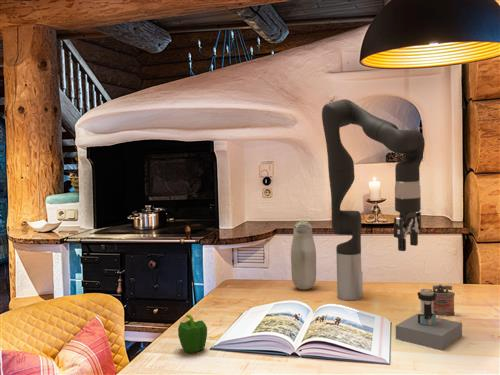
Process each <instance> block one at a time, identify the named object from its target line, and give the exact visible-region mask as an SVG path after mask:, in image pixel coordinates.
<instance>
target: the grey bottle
mask: <svg viewBox="0 0 500 375" xmlns="http://www.w3.org/2000/svg"><path fill="white" fill-rule="evenodd" d="M290 267H291V268H290V269H291V270H290V271H291V280H292V283H293V285H294V286H295V287H296V288H297V289H299V290H303V291H304V290H310V289H311V288H312V287H314V286H315V284H316V281H317V250H316V244H315V240H314V234H313V227H312V225H311V223H310V222H309V221H306V220H301V221H300V220H299V221H297V222H296V223H295V224H294V226H293V234H292V241H291V248H290Z"/></svg>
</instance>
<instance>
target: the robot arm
mask: <svg viewBox="0 0 500 375" xmlns="http://www.w3.org/2000/svg"><path fill="white" fill-rule="evenodd" d="M321 121H322V126H323V131H324V132H323V133H324V138H325V144H326V151H327V152H326V153H327V155H326V156H327V167H328V179H329V187H330V188H329V189H330V198H331V199H330V200H331V203H330V205H331V208H330V209H331V228H332V231H333V233H334V234H335V235H339V236H351V238H350V239H349V240H347V241H345V242H341V243H339V244H337V245H336V248H335V249H336V250H335V251H336V254H335V255H336V295H337V298H338V299H340V300H344V301H358V300H361V299H362V298H363V294H364V291H363V288H364V287H363V271H362V215H361V212H360V211H359V210H342V209H341V205H342V203H343V200H344V198H345V196H346V195H347V194H348V192H349V190H350V189H351V188H352V185H353V183H354V181H355V164H354V159H353V157H352V155H351V154H350V153H349V151H348V150H347V149H346V148H345V146H344V144H343V142H342V139H341V134H340V133H341V132H340V128H342V127H346V126H347V127H348V125H356V126H359V127H361V129H362V131H363V133H364V134H365V136H367V138H370V139H371V140H374V141H375V142H377V143H380V144H382V145H384V146H385V147H386V149H388V150H390V151H391V152H392V153H395V154H399V155H404V156H403V159H402V160H401V161H399V162H397V163H396V164H395V174H394V175H395V184H394V210H395V212H396V213H399V216H398V217H393V238H396V239H397V250H398V251H399V252H406V250H407V239H406V237H407V234H410V235H409V239H410V240H409V243H410V246H415V247H416V246H418V244H419V240H418V239H419V235H418V234H420V231H421V230H422V213H421V210H422V208H421V207H422V205H421V202H422V201H421V199H422V198H421V197H422V196H421V195H422V194H421V191H422V190H421V185H420V184H421V182H420V179H421V178H420V177H421V176H420V166H421V163H422V160H423V155H424V153H425V152H424V151H425V146H426V144H425V137H424V135H423V133H422V132H421V131H420V130H418V129H405V130H404V129H403V130H402V129H399V128H398V126H397V125H396V124H395V123H393V122H391V121H388V120H385V119H382V118H380V117H377V116H376V115H373V114H372V113H370V112H369V111H368V110H366V109H364V108H362V106H361V107H360V106H359V105H358V104H356V103H355V102H354V101H351V100H349V99H347V98H346V99H345V98H344V99H339V100H336V101H332V102H329V103H326V104H324V105H323V107H322V110H321ZM409 232H410V233H409Z"/></svg>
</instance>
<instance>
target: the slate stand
mask: <svg viewBox="0 0 500 375" xmlns="http://www.w3.org/2000/svg"><path fill="white" fill-rule="evenodd" d="M418 314H419V313H416V314H414V315H412V316H410V317H408V318H407V319H404V320H403V321H401V322H400V323H397V324H395V339H396V340H399V341H404V342H407V343H411V344H416V345H420V346H424V347H428V348H432V349H436V350H440V351H443V350H445V349H446V348H448V347H450V345H453V343H454V342H456V341H457V340H459V339H461V338H462V337H463V323H462V322H461V321H460V322H458V321H454V320H450V319H444V318H441V317H439V318H438V319H436V320H439V321H438V322H436V324H431V325H421V324H419V323H418Z"/></svg>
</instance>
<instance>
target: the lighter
mask: <svg viewBox="0 0 500 375" xmlns="http://www.w3.org/2000/svg"><path fill="white" fill-rule="evenodd" d="M432 290H433V293H436V294H437V296H436V300H434V301H433V312H434V315H436V316H438V317H454V316H455V315H456V314H455V313H456V312H455V296H456V295H455V292H453V286H452V285H449V284H448V285H442V283H439V284H437V285H436V284H435V285H433V284H432Z"/></svg>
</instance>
